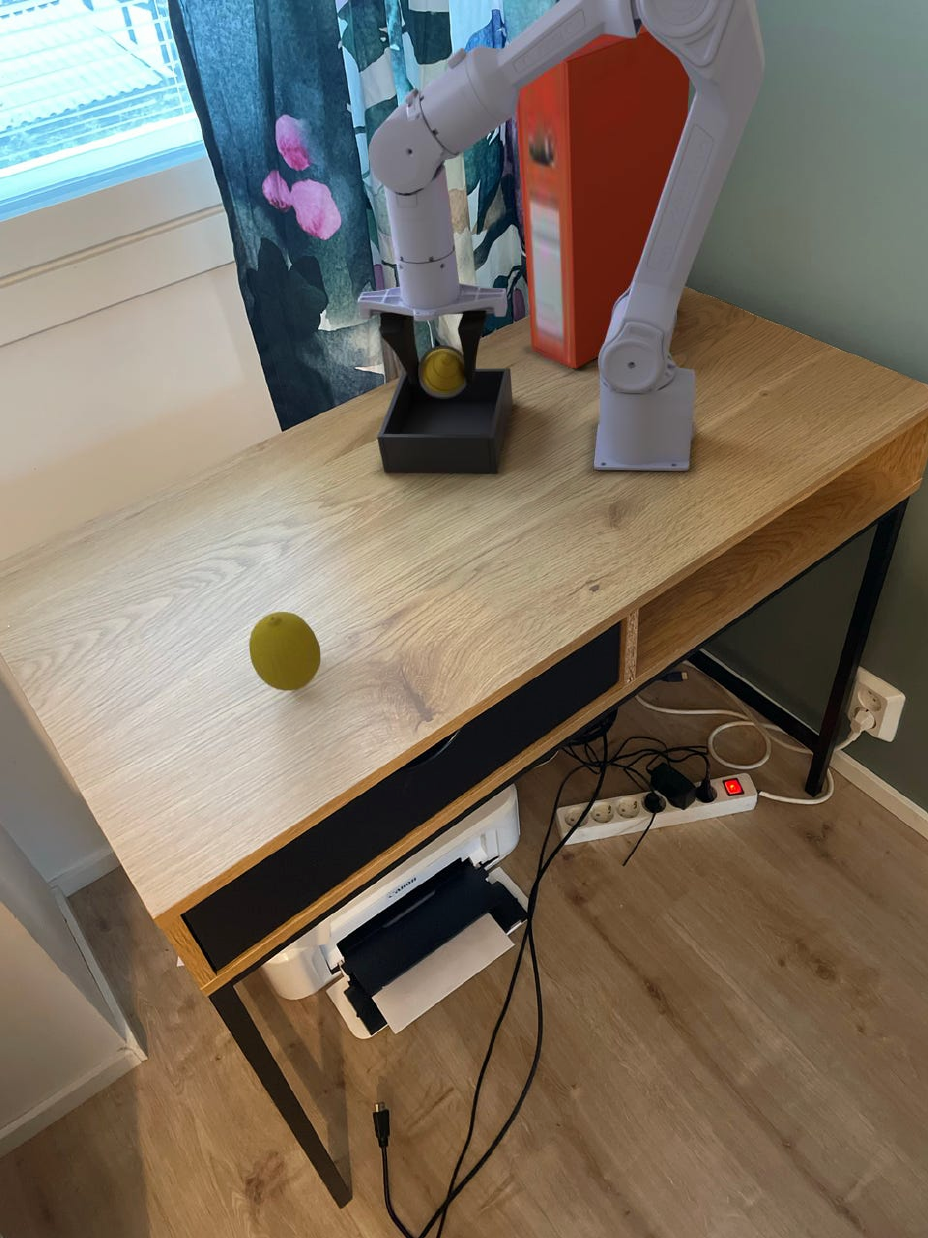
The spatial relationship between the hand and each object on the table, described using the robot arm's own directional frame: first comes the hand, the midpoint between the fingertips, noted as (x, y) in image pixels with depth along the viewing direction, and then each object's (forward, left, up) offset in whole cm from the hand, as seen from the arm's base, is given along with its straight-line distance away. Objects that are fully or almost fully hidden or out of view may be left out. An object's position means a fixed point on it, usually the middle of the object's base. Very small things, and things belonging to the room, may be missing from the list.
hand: (442, 378), depth 94 cm
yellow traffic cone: (-1, 0, -2) cm, 2 cm away
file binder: (-16, -23, -8) cm, 28 cm away
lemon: (+7, +36, -8) cm, 37 cm away
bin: (0, 0, -7) cm, 7 cm away
